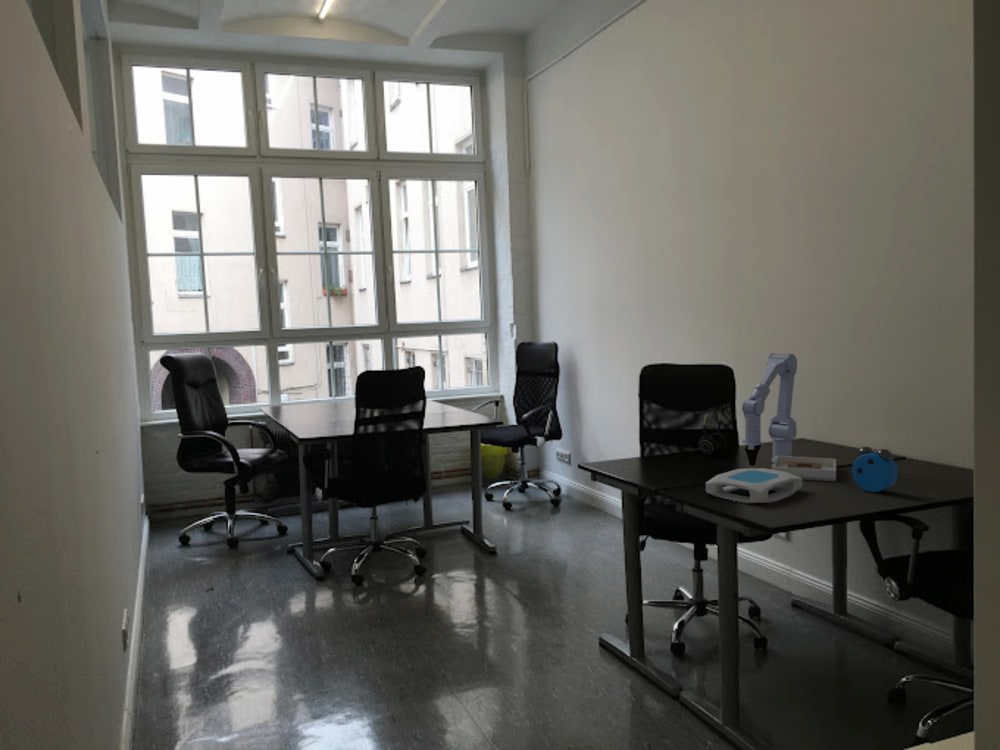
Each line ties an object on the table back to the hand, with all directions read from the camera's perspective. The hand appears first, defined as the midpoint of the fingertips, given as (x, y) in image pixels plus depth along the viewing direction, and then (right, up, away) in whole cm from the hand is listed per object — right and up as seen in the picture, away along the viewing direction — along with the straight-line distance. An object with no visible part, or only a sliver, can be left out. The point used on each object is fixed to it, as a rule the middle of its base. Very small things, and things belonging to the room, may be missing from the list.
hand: (752, 464), depth 308 cm
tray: (+16, -2, -10) cm, 19 cm away
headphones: (-7, +1, +31) cm, 32 cm away
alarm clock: (+29, -5, -39) cm, 49 cm away
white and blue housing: (-12, -6, -38) cm, 40 cm away
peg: (0, -2, 0) cm, 2 cm away
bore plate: (+16, -2, -10) cm, 19 cm away
